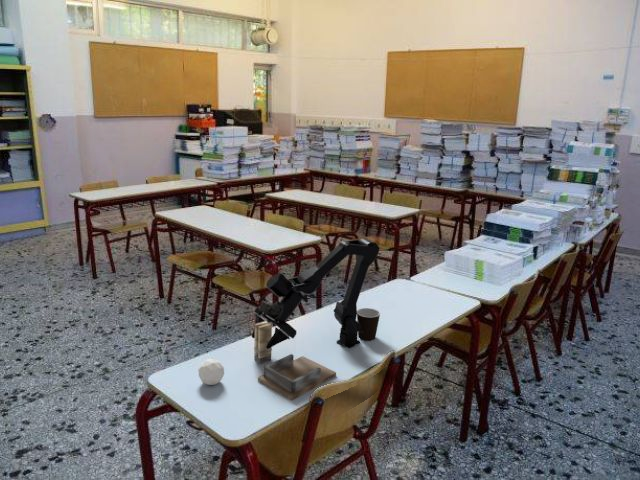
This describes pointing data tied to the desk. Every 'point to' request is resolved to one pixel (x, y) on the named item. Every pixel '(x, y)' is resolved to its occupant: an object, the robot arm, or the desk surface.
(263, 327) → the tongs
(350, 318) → the robot arm
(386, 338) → the desk surface
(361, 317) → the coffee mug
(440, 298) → the desk surface
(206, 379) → the ball
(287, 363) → the walnut stand
